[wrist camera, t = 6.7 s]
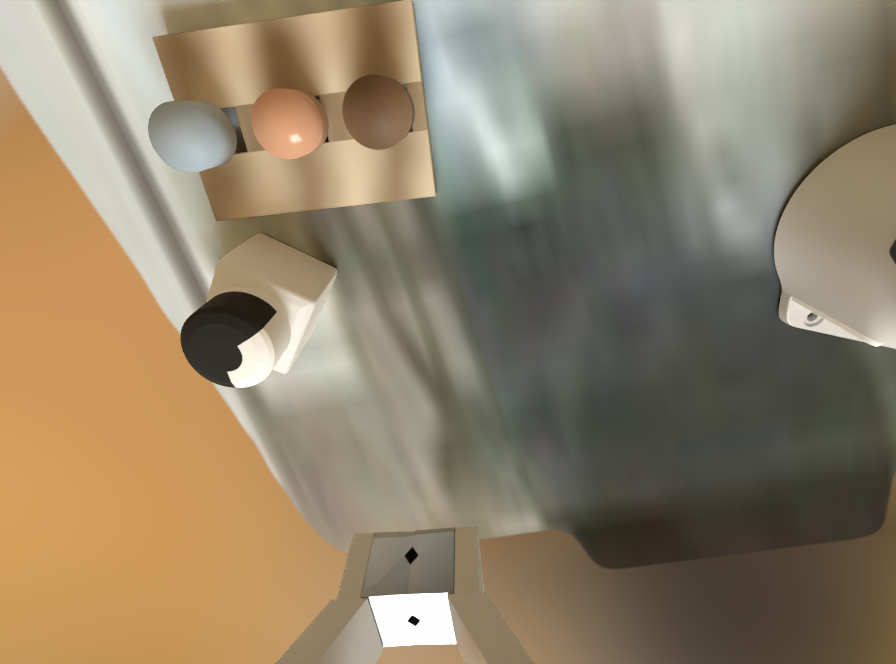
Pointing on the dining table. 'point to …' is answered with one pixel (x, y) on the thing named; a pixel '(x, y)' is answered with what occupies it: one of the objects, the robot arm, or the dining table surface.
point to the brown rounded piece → (378, 111)
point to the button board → (321, 74)
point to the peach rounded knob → (289, 122)
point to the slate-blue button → (192, 135)
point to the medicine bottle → (256, 312)
